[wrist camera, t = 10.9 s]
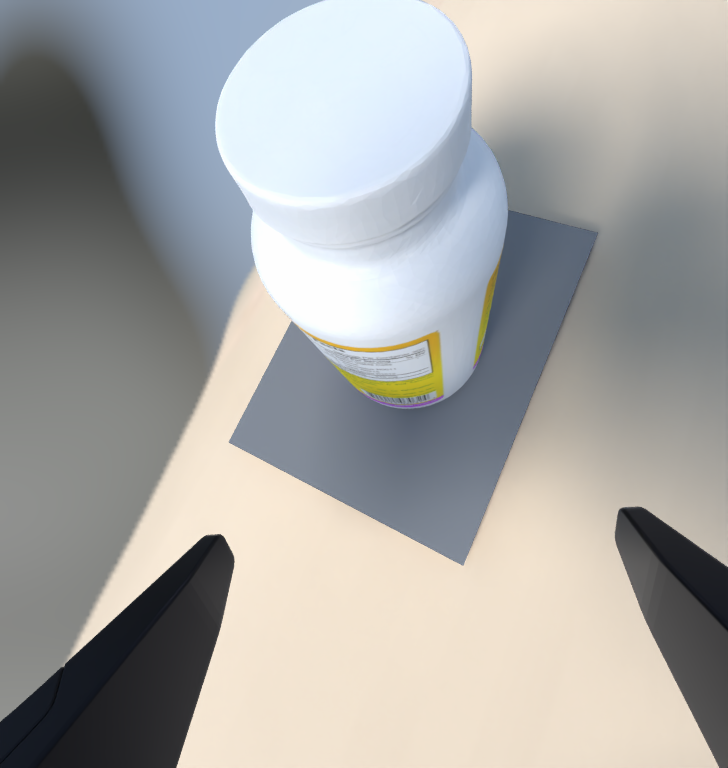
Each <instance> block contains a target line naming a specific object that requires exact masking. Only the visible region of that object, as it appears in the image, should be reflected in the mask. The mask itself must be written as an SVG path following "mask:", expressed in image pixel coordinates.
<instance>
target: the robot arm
mask: <svg viewBox="0 0 728 768" xmlns="http://www.w3.org/2000/svg"><path fill="white" fill-rule="evenodd" d="M615 541H616V545H617V548H618V550H619V553H620V556H621V558H622V561H623V564H624V566H625V569H626V571H627V574H628V577H629V579H630V582H631V585H632V587H633V590H634V592H635V595H636V598H637V600H638V603H639V606H640V608H641V611H642V613H643V616H644V618H645V620H646V623H647V625H648V627H649V629H650V631H651V633H652V635H653V637H654V639H655V641H656V643H657V645H658V647H659V649H660V651H661V653H662V655H663V657H664V659H665V661H666V663H667V665H668V667H669V669H670V671H671V673H672V675H673V677H674V679H675V681H676V683H677V685H678V687H679V689H680V691H681V692H682V694H683V696H684V698H685V700H686V702H687V704H688V706H689V708H690V710H691V712H692V714H693V716H694V718H695V720H696V722H697V724H698V726H699V728H700V730H701V732H702V734H703V736H704V738H705V740H706V742H707V744H708V746H709V748H710V750H711V752H712V754H713V756H714V758H715V760H716V762H717V764H718V766H719V768H728V567H727V566H725V565H724V564H722V563H721V562H720V561H718V560H717V559H715V558H714V557H713V556H711V555H710V554H708V553H707V552H705V551H704V550H703V549H701V548H700V547H698V546H697V545H696V544H694V543H693V542H691V541H690V540H689V539H687V538H686V537H684V536H683V535H681V534H680V533H679V532H677V531H676V530H674V529H673V528H672V527H670V526H669V525H667V524H666V523H664V522H663V521H662V520H660V519H659V518H657V517H656V516H655V515H653V514H652V513H650V512H649V511H648V510H646V509H644V508H642V507H625V508H621V509H620V510H619V511H618V516H617V523H616V530H615ZM233 569H234V555H233V553H232V551H231V549H230V547H229V546H228V544H227V542H226V540H225V538H224V536H222V535H221V534H214V535H206V536H204V537H203V538H201V539H200V540H199V541H198V542H197V543H196V544H195V545H194V546H193V547H192V548H191V549H189V550H188V551H187V552H186V553H185V554H184V555H183V556H182V557H181V558H180V559H179V560H178V561H176V562H175V563H174V564H173V565H172V566H171V567H170V568H169V569H168V570H167V571H166V572H165V573H163V574H162V575H161V576H160V577H159V578H158V579H157V580H156V581H155V582H154V583H153V584H151V585H150V586H149V587H148V588H147V589H146V590H145V591H144V592H143V593H142V594H141V595H140V596H138V597H137V598H136V599H135V600H134V601H133V602H132V603H131V604H130V605H129V606H128V607H126V608H125V609H124V610H123V611H122V612H121V613H120V614H119V615H118V616H117V617H116V618H115V619H113V620H112V621H111V622H110V623H109V624H108V625H107V626H106V627H105V628H104V629H103V630H102V631H100V632H99V633H98V634H97V635H96V636H95V637H94V638H93V639H92V640H91V641H90V642H88V643H87V644H86V645H85V646H84V647H83V648H82V649H81V650H80V651H79V652H78V653H76V654H75V655H74V656H73V657H72V658H71V659H70V660H69V661H68V662H67V663H66V664H65V666H64V667H61V668H60V669H59V670H58V671H57V672H56V673H55V674H54V675H53V676H51V677H50V678H49V679H48V680H47V681H46V682H45V683H44V684H43V685H42V686H40V687H39V688H38V689H37V690H36V691H35V692H34V693H33V694H32V695H30V696H29V697H28V698H27V699H26V700H25V701H24V702H23V703H21V704H20V705H19V706H18V707H17V708H16V709H15V710H14V711H12V712H11V713H10V714H9V715H8V716H7V717H5V718H4V719H3V720H2V721H1V722H0V768H176V767H177V764H178V761H179V758H180V754H181V751H182V748H183V745H184V742H185V739H186V736H187V732H188V729H189V726H190V723H191V720H192V717H193V714H194V710H195V707H196V704H197V701H198V698H199V695H200V692H201V688H202V685H203V682H204V679H205V676H206V673H207V670H208V666H209V663H210V660H211V657H212V654H213V651H214V648H215V644H216V641H217V638H218V635H219V631H220V628H221V624H222V619H223V615H224V610H225V606H226V601H227V597H228V592H229V587H230V583H231V578H232V573H233Z"/></svg>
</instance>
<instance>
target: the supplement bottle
mask: <svg viewBox="0 0 728 768" xmlns="http://www.w3.org/2000/svg"><path fill="white" fill-rule="evenodd" d="M471 105H472V69H471V60H470V56H469V52H468V48H467V46H466V43H465V41H464V39H463V36H462V34H461V33H460V31H459V30H458V28H457V27H456V25H455V24H454V23H453V22H452V21H451V20H450V19H449V18H448V17H447V16H446V15H445V14H444V13H443V12H442V11H440V10H438V9H437V8H435V7H433V6H432V5H430V4H428V3H426V2H424V1H422V0H324V1H321V2H319V3H316V4H313V5H311V6H308V7H306V8H304V9H302V10H299V11H298V12H296V13H294V14H292V15H290V16H289V17H287V18H285V19H283V20H282V21H280V22H279V23H278V24H276V25H275V26H273V27H272V28H271V29H269V30H268V31H267V32H266V33H265V34H264V35H263V36H261V37H260V38H259V39H258V40H257V41H256V42H255V43H254V44H253V45H252V46H251V47H250V48H249V49H248V50H247V51H246V52H245V54H244V55H243V56H242V58H241V59H240V60H239V62H238V63H237V64H236V66H235V68H234V69H233V71H232V72H231V74H230V76H229V77H228V80H227V81H226V83H225V86H224V88H223V90H222V92H221V95H220V98H219V101H218V105H217V112H216V124H215V128H216V140H217V145H218V149H219V151H220V154H221V157H222V159H223V162H224V164H225V166H226V167H227V169H228V171H229V173H230V174H231V176H232V177H233V178H234V180H235V182H236V183H237V184H238V186H239V187H240V189H241V191H242V192H243V194H244V195H245V197H246V199H247V201H248V202H249V205H250V206H251V208H252V209H253V215H252V222H251V242H252V251H253V256H254V260H255V265H256V268H257V270H258V273H259V276H260V278H261V280H262V282H263V284H264V286H265V288H266V290H267V291H268V293H269V294H270V296H271V297H272V298H273V300H274V301H275V302H276V303H277V305H278V306H279V307H280V308H281V309H282V310H283V312H284V313H285V314H286V315H287V316H288V317H289V318H290V319H291V321H292V322H293V323H294V324H295V325H297V326H298V328H299V329H300V330H301V331H302V332H303V333H304V334H305V335H306V336H307V337H308V338H309V339H310V340H311V341H312V342H313V343H314V344H315V346H316V347H317V348H318V349H319V350H320V351H321V352H322V353H323V354H324V356H325V357H326V358H327V359H328V360H329V361H330V362H331V363H332V364H333V365H334V366H335V367H336V368H337V369H338V370H339V371H340V372H341V374H342V375H343V376H344V377H345V378H346V379H347V380H348V381H349V382H350V383H351V384H352V385H353V386H354V387H355V388H356V389H357V390H358V391H360V392H361V393H362V394H364V395H365V396H366V397H368V398H370V399H371V400H373V401H375V402H378V403H380V404H382V405H386V406H389V407H394V408H401V409H413V408H421V407H426V406H430V405H433V404H435V403H438V402H440V401H442V400H444V399H446V398H448V397H449V396H451V395H452V394H454V393H455V392H456V391H457V390H459V389H460V388H461V387H462V386H463V385H464V384H465V382H466V381H467V380H468V379H469V377H470V376H471V375H472V373H473V371H474V370H475V368H476V366H477V363H478V361H479V358H480V355H481V352H482V348H483V344H484V339H485V334H486V328H487V323H488V319H489V313H490V309H491V304H492V298H493V294H494V288H495V283H496V278H497V273H498V269H499V264H500V259H501V254H502V250H503V246H504V239H505V233H506V228H507V219H508V201H507V192H506V187H505V182H504V179H503V175H502V172H501V170H500V167H499V164H498V162H497V160H496V158H495V156H494V154H493V152H492V150H491V149H490V148H489V146H488V145H487V144H486V142H485V141H484V140H483V138H482V137H481V136H480V135H479V134H478V133H477V132H476V131H475V130H474V129H473V128H471Z"/></svg>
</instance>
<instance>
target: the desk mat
mask: <svg viewBox="0 0 728 768" xmlns="http://www.w3.org/2000/svg"><path fill="white" fill-rule="evenodd" d="M597 234H598V233H596V232H592V231H588V230H585V229H581V228H577V227H573V226H569V225H565V224H561V223H557V222H553V221H549V220H545V219H541V218H537V217H533V216H529V215H525V214H521V213H517V212H514V211H510V210H508V219H507V228H506V233H505V239H504V246H503V250H502V254H501V259H500V264H499V269H498V273H497V278H496V283H495V288H494V294H493V298H492V304H491V309H490V313H489V319H488V323H487V328H486V334H485V339H484V344H483V348H482V352H481V355H480V358H479V361H478V363H477V366H476V368H475V370H474V371H473V373H472V375H471V376H470V377H469V379H468V380H467V381H466V382H465V384H464V385H463V386H462V387H461V388H460V389H459V390H457V391H456V392H455V393H454V394H452V395H451V396H449V397H448V398H446V399H444V400H442V401H440V402H438V403H435V404H433V405H430V406H426V407H421V408H413V409H401V408H394V407H389V406H386V405H382V404H380V403H378V402H375V401H373V400H371V399H370V398H368V397H366V396H365V395H364V394H362V393H361V392H360V391H358V390H357V389H356V388H355V387H354V386H353V385H352V384H351V383H350V382H349V381H348V380H347V379H346V378H345V377H344V376H343V375H342V374H341V372H340V371H339V370H338V369H337V368H336V367H335V366H334V365H333V364H332V363H331V362H330V361H329V360H328V359H327V358H326V357H325V356H324V354H323V353H322V352H321V351H320V350H319V349H318V348H317V347H316V346H315V344H314V343H313V342H312V341H311V340H310V339H309V338H308V337H307V336H306V335H305V334H304V333H303V332H302V331H301V330H300V329H299V328H298V326H297V325H295V324H294V323H293V322H292V321H291V323H290V325H289V327H288V329H287V331H286V333H285V335H284V337H283V339H282V341H281V343H280V344H279V346H278V348H277V350H276V352H275V354H274V356H273V358H272V360H271V362H270V364H269V366H268V368H267V369H266V371H265V373H264V375H263V377H262V379H261V381H260V383H259V385H258V387H257V389H256V391H255V393H254V394H253V396H252V398H251V400H250V402H249V404H248V406H247V408H246V410H245V412H244V414H243V416H242V418H241V419H240V421H239V423H238V425H237V427H236V429H235V431H234V433H233V435H232V437H231V439H230V441H229V443H231V444H233V445H235V446H237V447H238V448H240V449H242V450H244V451H246V452H248V453H250V454H252V455H254V456H256V457H257V458H259V459H261V460H263V461H265V462H267V463H269V464H271V465H273V466H275V467H276V468H278V469H280V470H282V471H284V472H286V473H288V474H290V475H292V476H294V477H295V478H297V479H299V480H301V481H303V482H305V483H307V484H309V485H311V486H313V487H314V488H316V489H318V490H320V491H322V492H324V493H326V494H328V495H330V496H332V497H333V498H335V499H337V500H339V501H341V502H343V503H345V504H347V505H349V506H351V507H352V508H354V509H356V510H358V511H360V512H362V513H364V514H366V515H368V516H370V517H371V518H373V519H375V520H377V521H379V522H381V523H383V524H385V525H387V526H389V527H390V528H392V529H394V530H396V531H398V532H400V533H402V534H404V535H406V536H408V537H409V538H411V539H413V540H415V541H417V542H419V543H421V544H423V545H425V546H427V547H428V548H430V549H432V550H434V551H436V552H438V553H440V554H442V555H444V556H446V557H447V558H449V559H451V560H453V561H455V562H457V563H459V564H461V565H464V563H465V560H466V558H467V555H468V553H469V550H470V548H471V545H472V543H473V540H474V538H475V535H476V533H477V530H478V528H479V526H480V523H481V521H482V518H483V516H484V513H485V511H486V508H487V506H488V503H489V501H490V498H491V496H492V493H493V491H494V489H495V486H496V484H497V481H498V479H499V476H500V474H501V471H502V469H503V466H504V464H505V461H506V459H507V456H508V454H509V452H510V449H511V447H512V444H513V442H514V439H515V437H516V434H517V432H518V429H519V427H520V424H521V422H522V419H523V417H524V415H525V412H526V410H527V407H528V405H529V402H530V400H531V397H532V395H533V392H534V390H535V387H536V385H537V382H538V380H539V378H540V375H541V373H542V370H543V368H544V365H545V363H546V360H547V358H548V355H549V353H550V350H551V348H552V345H553V343H554V341H555V338H556V336H557V333H558V331H559V328H560V326H561V323H562V321H563V318H564V316H565V313H566V311H567V308H568V306H569V304H570V301H571V299H572V296H573V294H574V291H575V289H576V286H577V284H578V281H579V279H580V276H581V274H582V271H583V269H584V267H585V264H586V262H587V259H588V257H589V254H590V252H591V249H592V247H593V244H594V242H595V239H596V237H597Z"/></svg>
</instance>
